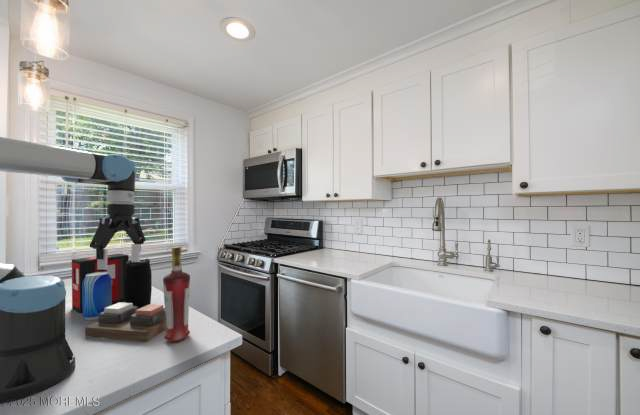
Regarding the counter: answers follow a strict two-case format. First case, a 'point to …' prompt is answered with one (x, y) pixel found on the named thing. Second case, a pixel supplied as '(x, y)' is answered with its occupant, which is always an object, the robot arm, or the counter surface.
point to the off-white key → (118, 308)
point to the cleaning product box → (89, 265)
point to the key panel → (127, 326)
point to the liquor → (176, 300)
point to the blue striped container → (96, 294)
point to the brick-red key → (149, 310)
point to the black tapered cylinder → (138, 283)
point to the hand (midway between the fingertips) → (120, 265)
